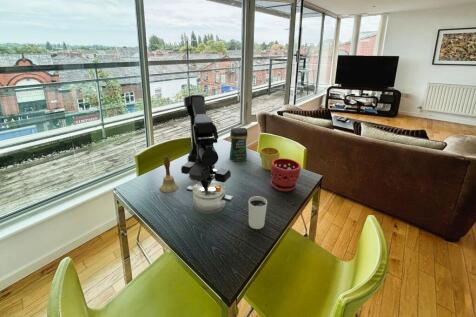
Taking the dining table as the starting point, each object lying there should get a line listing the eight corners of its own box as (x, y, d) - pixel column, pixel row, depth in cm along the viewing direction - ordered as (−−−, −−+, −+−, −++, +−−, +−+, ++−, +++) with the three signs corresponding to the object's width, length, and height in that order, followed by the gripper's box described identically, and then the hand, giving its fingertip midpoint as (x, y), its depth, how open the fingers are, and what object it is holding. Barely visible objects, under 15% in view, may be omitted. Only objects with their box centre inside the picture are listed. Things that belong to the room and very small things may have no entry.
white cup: (245, 227, 93) (246, 204, 89) (250, 216, 99) (252, 194, 95) (262, 231, 91) (264, 208, 87) (267, 220, 97) (269, 198, 92)
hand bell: (182, 185, 119) (179, 154, 112) (170, 194, 112) (167, 161, 105) (168, 181, 122) (164, 150, 115) (156, 189, 115) (151, 157, 108)
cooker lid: (186, 194, 99) (185, 188, 99) (202, 180, 111) (202, 175, 110) (216, 202, 95) (216, 196, 94) (230, 186, 106) (230, 181, 105)
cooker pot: (180, 206, 104) (179, 194, 101) (197, 190, 115) (196, 178, 113) (224, 219, 97) (224, 206, 94) (238, 200, 108) (238, 188, 106)
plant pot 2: (292, 196, 112) (295, 172, 107) (265, 188, 118) (267, 165, 113) (301, 183, 122) (304, 161, 117) (275, 176, 128) (277, 155, 123)
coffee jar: (231, 162, 142) (231, 130, 134) (228, 156, 149) (228, 126, 141) (248, 161, 144) (249, 129, 136) (244, 155, 151) (245, 125, 143)
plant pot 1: (277, 172, 132) (279, 155, 128) (257, 170, 134) (258, 153, 130) (278, 164, 141) (280, 148, 137) (260, 162, 143) (261, 146, 139)
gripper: (170, 158, 90) (174, 195, 97) (217, 167, 84) (218, 207, 91) (188, 147, 100) (190, 182, 106) (231, 155, 93) (231, 192, 100)
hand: (206, 190), depth 100 cm, fingers closed
